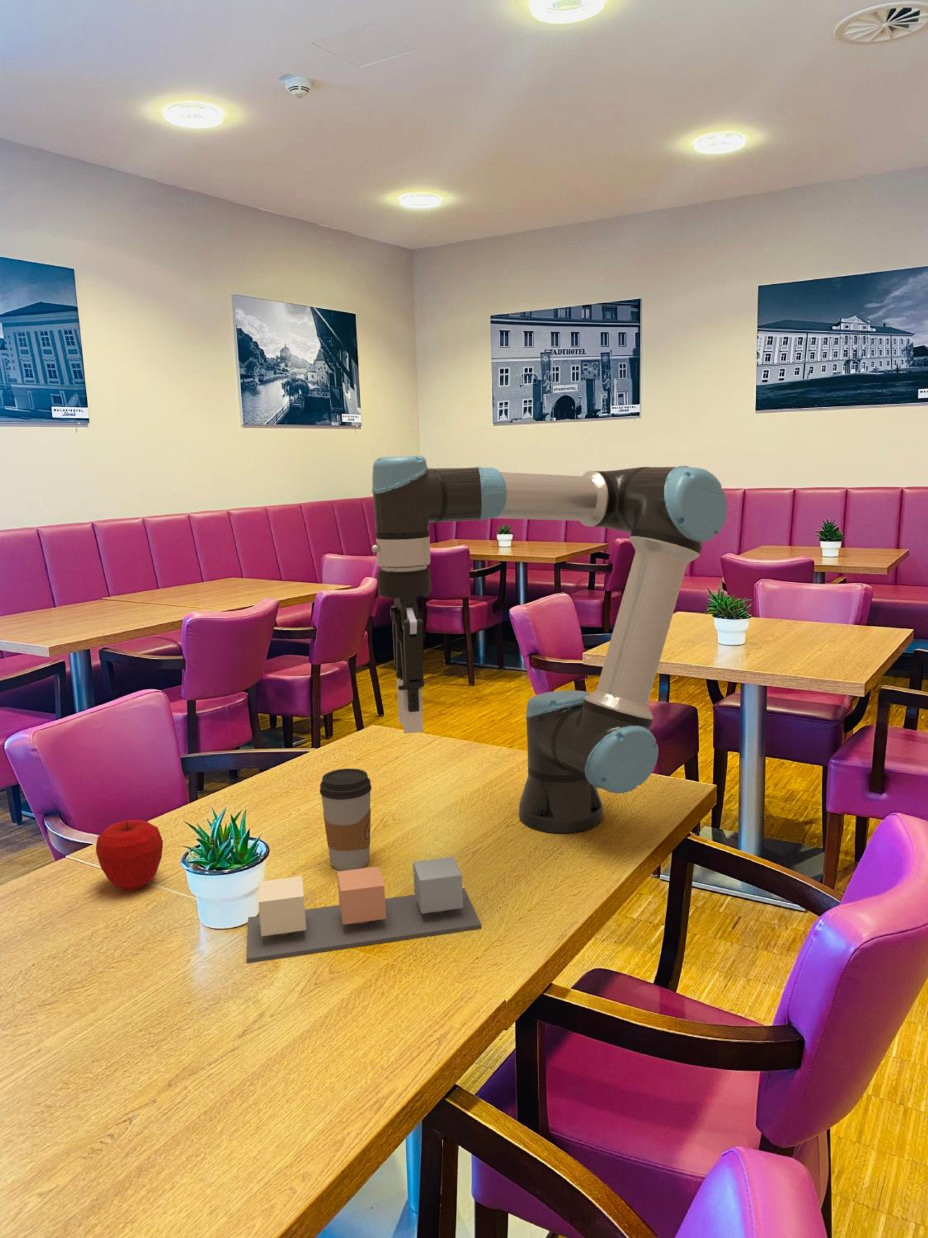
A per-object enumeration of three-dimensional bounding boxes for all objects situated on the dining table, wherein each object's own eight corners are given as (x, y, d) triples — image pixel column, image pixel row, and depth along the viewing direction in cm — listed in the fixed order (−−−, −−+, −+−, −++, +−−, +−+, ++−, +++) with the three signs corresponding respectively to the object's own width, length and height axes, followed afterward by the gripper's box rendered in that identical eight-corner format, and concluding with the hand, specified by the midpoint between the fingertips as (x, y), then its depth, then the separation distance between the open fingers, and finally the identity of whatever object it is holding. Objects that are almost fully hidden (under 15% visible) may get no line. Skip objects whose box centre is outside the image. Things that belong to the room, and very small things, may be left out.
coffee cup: (366, 876, 140) (361, 787, 137) (316, 873, 141) (311, 784, 139) (381, 853, 148) (377, 768, 145) (334, 850, 149) (329, 766, 147)
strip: (464, 891, 134) (463, 879, 134) (481, 928, 123) (480, 915, 123) (248, 921, 127) (247, 908, 127) (246, 963, 117) (245, 949, 116)
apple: (179, 877, 142) (173, 813, 140) (134, 905, 133) (127, 837, 131) (133, 867, 146) (126, 804, 144) (86, 893, 137) (79, 827, 135)
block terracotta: (380, 898, 128) (378, 866, 128) (386, 918, 123) (384, 885, 122) (339, 903, 127) (337, 871, 126) (342, 925, 121) (340, 891, 121)
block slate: (454, 888, 131) (453, 856, 130) (463, 907, 125) (462, 875, 124) (414, 893, 129) (413, 862, 129) (421, 913, 124) (419, 880, 123)
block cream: (304, 908, 126) (302, 876, 125) (306, 930, 120) (303, 896, 119) (261, 914, 125) (258, 881, 124) (261, 936, 119) (258, 902, 118)
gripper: (370, 562, 131) (377, 713, 136) (385, 576, 115) (393, 748, 119) (419, 559, 133) (425, 708, 137) (441, 573, 116) (447, 742, 121)
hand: (410, 726), depth 128 cm, fingers open, 4 cm apart
